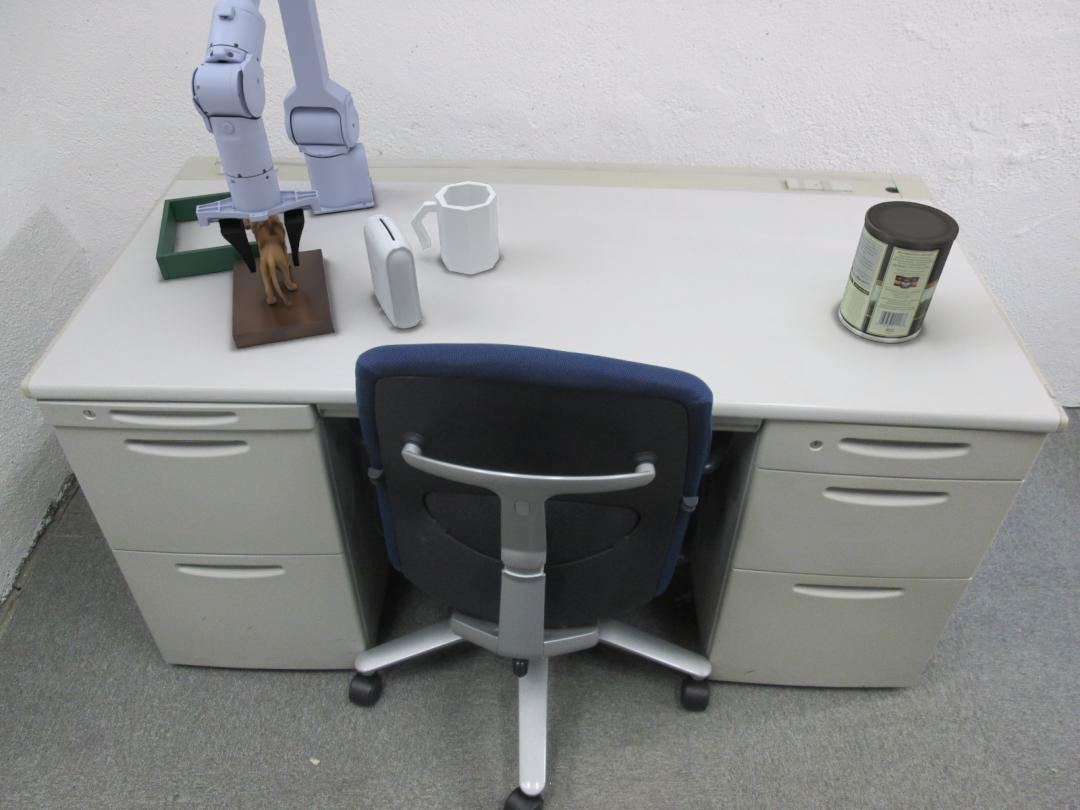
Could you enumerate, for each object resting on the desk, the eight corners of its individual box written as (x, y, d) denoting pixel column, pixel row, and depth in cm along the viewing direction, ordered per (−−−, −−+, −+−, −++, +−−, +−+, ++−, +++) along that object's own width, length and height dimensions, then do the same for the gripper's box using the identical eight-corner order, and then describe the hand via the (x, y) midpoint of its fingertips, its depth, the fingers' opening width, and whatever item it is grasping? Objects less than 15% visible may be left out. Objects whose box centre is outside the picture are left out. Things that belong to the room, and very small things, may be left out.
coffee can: (888, 291, 106) (922, 194, 97) (938, 335, 98) (979, 235, 89) (821, 304, 104) (848, 206, 94) (866, 350, 96) (901, 248, 87)
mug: (499, 242, 116) (496, 180, 110) (499, 274, 110) (496, 209, 103) (417, 244, 116) (410, 182, 109) (413, 276, 109) (404, 212, 103)
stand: (323, 260, 113) (321, 248, 111) (334, 332, 100) (331, 319, 98) (237, 273, 110) (233, 261, 109) (236, 348, 97) (232, 335, 96)
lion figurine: (246, 259, 109) (231, 199, 103) (285, 251, 111) (272, 191, 105) (271, 313, 99) (256, 250, 93) (313, 303, 101) (301, 241, 95)
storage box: (268, 207, 125) (263, 187, 123) (272, 263, 112) (266, 242, 110) (171, 220, 122) (164, 199, 120) (163, 279, 109) (155, 257, 107)
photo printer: (370, 293, 106) (356, 209, 98) (401, 285, 108) (389, 202, 100) (394, 333, 99) (380, 247, 91) (426, 324, 101) (415, 239, 93)
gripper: (183, 190, 90) (216, 290, 99) (312, 173, 93) (333, 272, 102) (186, 164, 95) (217, 262, 104) (309, 149, 98) (329, 246, 107)
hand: (275, 265), depth 103 cm, fingers open, 5 cm apart
